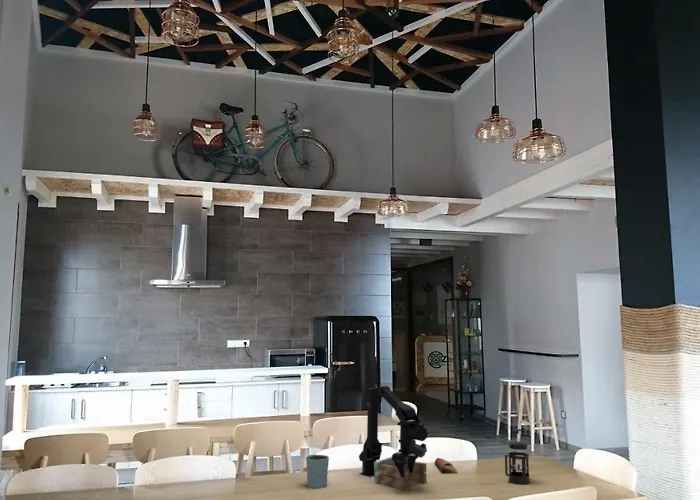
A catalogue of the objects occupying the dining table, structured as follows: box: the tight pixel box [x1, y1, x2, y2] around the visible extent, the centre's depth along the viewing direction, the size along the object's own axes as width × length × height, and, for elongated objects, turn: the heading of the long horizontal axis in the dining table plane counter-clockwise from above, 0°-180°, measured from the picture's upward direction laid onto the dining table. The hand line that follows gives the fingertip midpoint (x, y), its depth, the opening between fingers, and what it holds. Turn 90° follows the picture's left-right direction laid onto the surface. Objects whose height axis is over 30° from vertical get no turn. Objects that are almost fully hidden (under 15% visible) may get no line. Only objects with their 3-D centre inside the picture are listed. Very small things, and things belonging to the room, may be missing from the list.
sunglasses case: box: [434, 457, 459, 475], centre depth 273 cm, size 18×7×7 cm, turn 3°
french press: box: [504, 428, 531, 486], centre depth 253 cm, size 12×9×23 cm
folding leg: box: [382, 464, 409, 480], centre depth 243 cm, size 14×2×4 cm, turn 44°
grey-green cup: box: [305, 454, 330, 489], centre depth 244 cm, size 10×10×12 cm
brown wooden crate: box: [373, 456, 428, 491], centre depth 249 cm, size 17×16×9 cm
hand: (406, 474), depth 241 cm, fingers open, 9 cm apart
